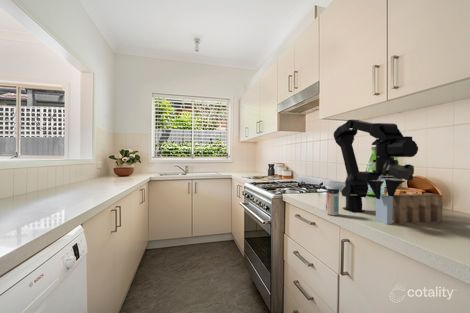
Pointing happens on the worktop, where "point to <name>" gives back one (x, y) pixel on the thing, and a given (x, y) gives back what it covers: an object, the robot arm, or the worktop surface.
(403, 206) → the domino
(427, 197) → the domino
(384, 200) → the slate domino
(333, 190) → the beer can
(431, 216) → the domino
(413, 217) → the domino
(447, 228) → the worktop surface
